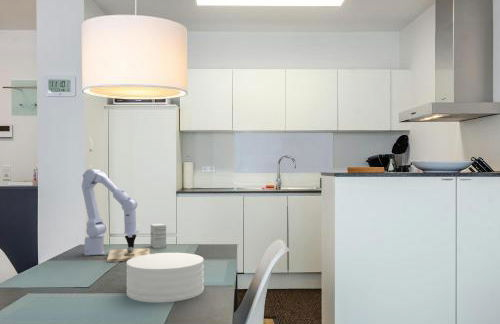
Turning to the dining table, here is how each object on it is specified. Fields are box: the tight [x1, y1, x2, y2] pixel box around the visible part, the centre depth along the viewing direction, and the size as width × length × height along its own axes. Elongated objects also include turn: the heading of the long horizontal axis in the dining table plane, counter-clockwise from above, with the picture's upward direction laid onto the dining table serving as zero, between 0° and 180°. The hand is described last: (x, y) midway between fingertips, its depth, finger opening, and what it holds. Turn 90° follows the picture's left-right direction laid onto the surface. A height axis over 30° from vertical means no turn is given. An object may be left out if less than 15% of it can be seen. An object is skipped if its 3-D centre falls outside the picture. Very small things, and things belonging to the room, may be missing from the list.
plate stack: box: [125, 252, 205, 303], centre depth 167 cm, size 28×28×12 cm
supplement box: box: [150, 223, 167, 249], centre depth 255 cm, size 7×7×13 cm
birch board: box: [106, 247, 151, 263], centre depth 229 cm, size 20×24×2 cm
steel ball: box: [126, 246, 134, 253], centre depth 231 cm, size 3×3×3 cm
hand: (131, 249), depth 232 cm, fingers closed, pressing on steel ball
